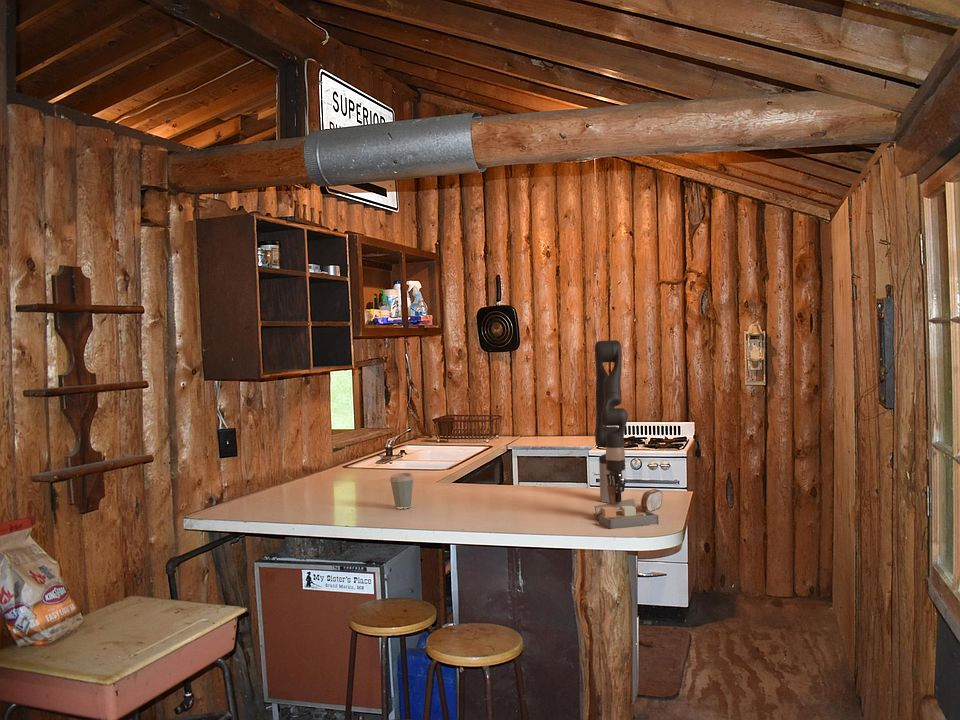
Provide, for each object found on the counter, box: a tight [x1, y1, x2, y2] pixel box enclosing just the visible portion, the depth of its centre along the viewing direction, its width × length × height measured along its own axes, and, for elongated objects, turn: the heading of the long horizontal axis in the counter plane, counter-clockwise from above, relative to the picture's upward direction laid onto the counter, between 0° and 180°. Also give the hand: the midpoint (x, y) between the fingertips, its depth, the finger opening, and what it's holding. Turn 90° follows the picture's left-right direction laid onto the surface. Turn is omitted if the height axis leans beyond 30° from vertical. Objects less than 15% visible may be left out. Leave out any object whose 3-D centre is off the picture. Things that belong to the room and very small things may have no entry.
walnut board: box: [593, 510, 645, 522], centre depth 306 cm, size 10×17×2 cm, turn 105°
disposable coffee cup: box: [389, 472, 414, 508], centre depth 340 cm, size 11×11×15 cm
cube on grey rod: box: [594, 485, 636, 515], centre depth 307 cm, size 3×16×10 cm, turn 97°
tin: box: [640, 488, 663, 512], centre depth 320 cm, size 15×3×8 cm, turn 141°
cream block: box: [620, 506, 637, 516], centre depth 304 cm, size 4×4×3 cm
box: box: [599, 511, 659, 530], centre depth 297 cm, size 9×20×4 cm, turn 105°
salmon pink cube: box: [602, 507, 616, 517], centre depth 303 cm, size 4×4×3 cm
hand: (616, 500), depth 307 cm, fingers closed on cube on grey rod, 3 cm apart
